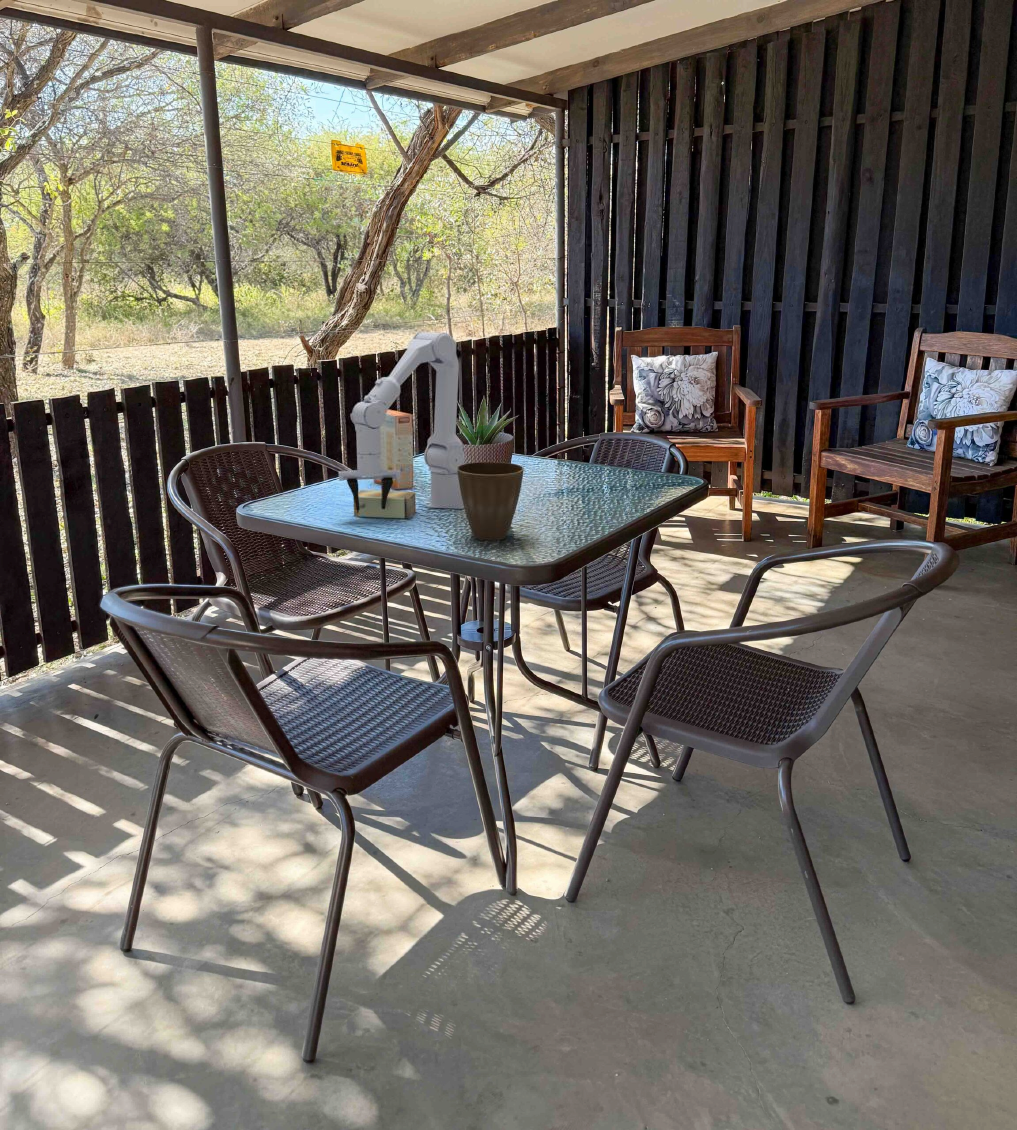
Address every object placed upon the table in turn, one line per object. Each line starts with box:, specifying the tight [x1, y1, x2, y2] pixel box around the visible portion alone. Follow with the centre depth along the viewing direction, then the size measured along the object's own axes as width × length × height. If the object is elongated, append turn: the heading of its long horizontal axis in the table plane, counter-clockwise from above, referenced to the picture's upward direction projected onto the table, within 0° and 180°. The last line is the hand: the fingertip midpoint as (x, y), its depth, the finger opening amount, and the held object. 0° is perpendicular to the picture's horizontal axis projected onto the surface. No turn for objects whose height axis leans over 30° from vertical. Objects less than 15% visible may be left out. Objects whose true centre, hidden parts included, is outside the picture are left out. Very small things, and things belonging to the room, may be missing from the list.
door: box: [358, 496, 412, 520], centre depth 233 cm, size 13×2×5 cm, turn 82°
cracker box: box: [373, 409, 414, 491], centre depth 269 cm, size 14×6×21 cm, turn 34°
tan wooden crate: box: [352, 489, 417, 519], centre depth 237 cm, size 14×7×5 cm, turn 83°
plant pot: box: [457, 461, 525, 542], centre depth 215 cm, size 15×15×16 cm
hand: (370, 509), depth 231 cm, fingers open, 5 cm apart
